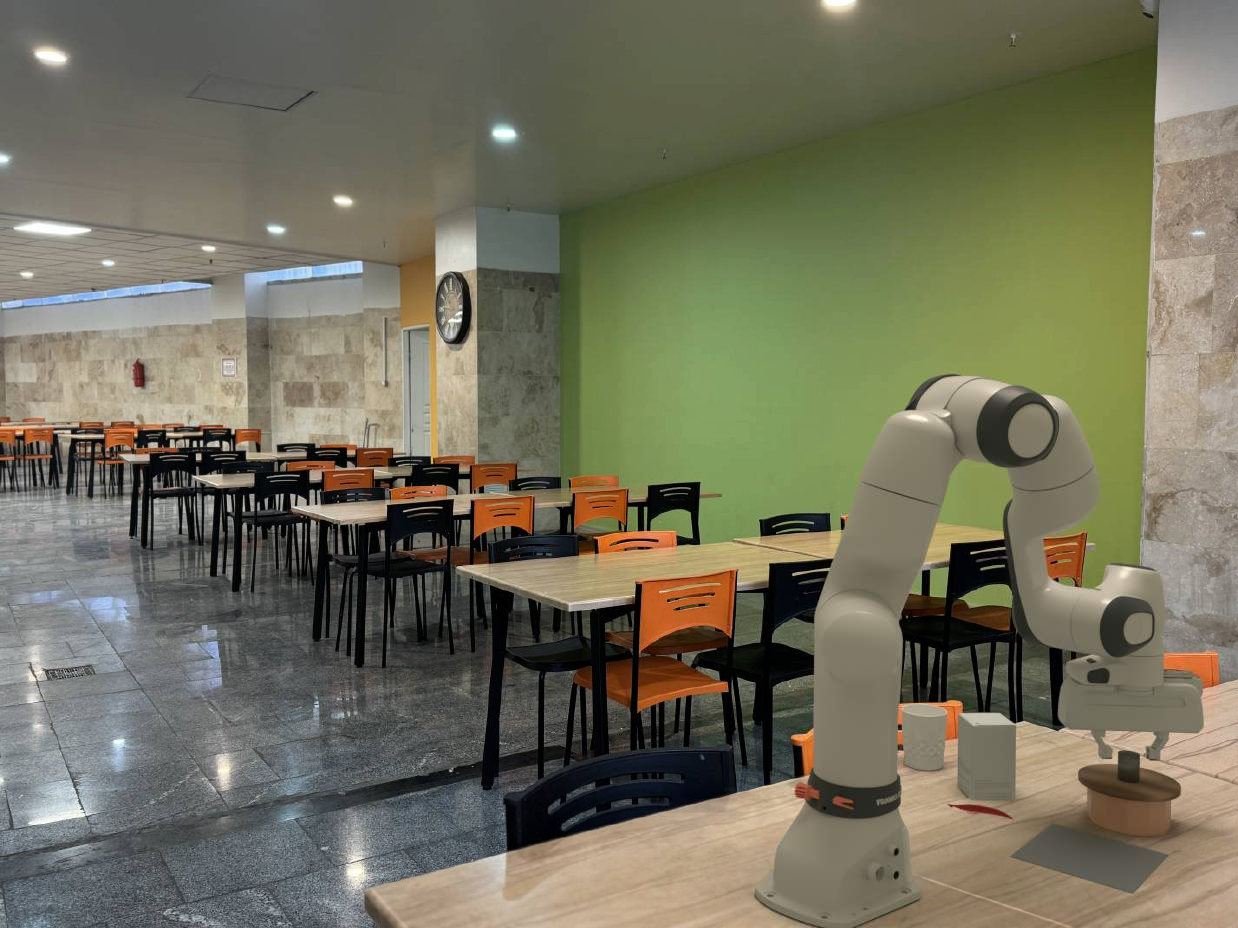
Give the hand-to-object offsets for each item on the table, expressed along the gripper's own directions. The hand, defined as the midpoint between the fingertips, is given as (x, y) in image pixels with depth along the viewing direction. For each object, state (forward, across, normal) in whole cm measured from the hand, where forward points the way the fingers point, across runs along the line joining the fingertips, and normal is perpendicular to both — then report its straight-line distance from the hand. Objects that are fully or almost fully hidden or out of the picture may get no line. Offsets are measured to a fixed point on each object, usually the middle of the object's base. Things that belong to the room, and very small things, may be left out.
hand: (1129, 758), depth 152 cm
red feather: (+11, +22, -1) cm, 24 cm away
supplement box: (+10, +18, -10) cm, 24 cm away
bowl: (+10, 0, 0) cm, 10 cm away
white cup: (+10, +26, -24) cm, 37 cm away
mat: (+10, +10, +14) cm, 20 cm away
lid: (+4, 0, 0) cm, 4 cm away
